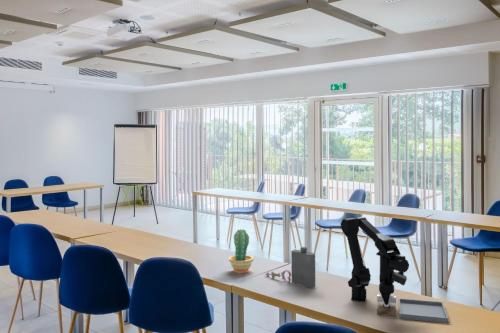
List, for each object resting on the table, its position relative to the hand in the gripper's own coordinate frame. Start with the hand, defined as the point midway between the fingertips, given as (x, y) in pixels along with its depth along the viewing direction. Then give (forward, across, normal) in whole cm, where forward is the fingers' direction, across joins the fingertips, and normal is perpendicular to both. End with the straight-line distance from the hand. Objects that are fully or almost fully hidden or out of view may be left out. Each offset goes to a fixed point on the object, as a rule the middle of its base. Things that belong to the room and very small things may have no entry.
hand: (386, 301), depth 194 cm
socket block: (+5, 0, 0) cm, 5 cm away
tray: (+5, +3, -15) cm, 16 cm away
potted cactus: (+5, +43, +83) cm, 94 cm away
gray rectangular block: (+5, 0, 0) cm, 5 cm away
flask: (+5, +28, +42) cm, 51 cm away
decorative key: (+5, +33, +58) cm, 67 cm away
